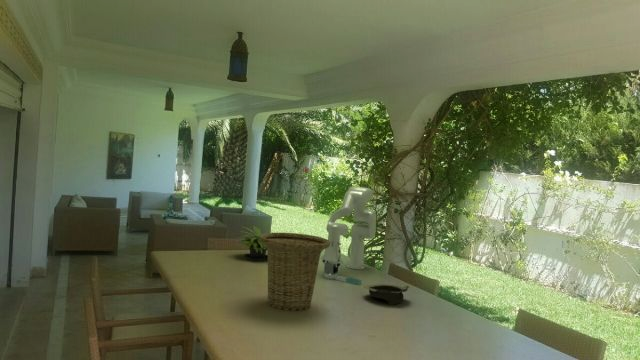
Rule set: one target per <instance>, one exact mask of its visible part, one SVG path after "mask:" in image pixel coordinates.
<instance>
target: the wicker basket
mask: <svg viewBox="0 0 640 360" xmlns="http://www.w3.org/2000/svg"><path fill="white" fill-rule="evenodd" d="M260 241H261V242H262V243H264V244H265V245H266V246H267V250H266V251H267V255H268V261H267V303H268V305H269V306H271V307H272V308H277V309H278V310H282V309H283V310H284V311H289V310H291V311H293V312H294V311H297V310H298V311H302V310H308V308H310V307H311V304H312V299H313V294H314V288H315V284H316V279H317V273H318V269H319V263H320V262H319V261H320V259H321V254H322V252H323V251H325V249H326V248H328V247H329V246H330V241H329V240H328V238H325V237H321V236H317V235H313V234H305V233H294V232H267V233H261V236H260Z"/></svg>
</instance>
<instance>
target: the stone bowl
mask: <svg viewBox="0 0 640 360" xmlns="http://www.w3.org/2000/svg"><path fill="white" fill-rule="evenodd" d="M409 288H410V286H408V285H406V286H402V285H397V284H395V285H394V284H384V283H383V284H381V283H377V284H367V285H365V286H363V289H366V290H368V292H369V295H370V296H371V297H374V298H376V299H381V300H385V301H386V304H388V305H391V306H392V305H397V304H399V303H402V302H403V301H404V294H403V293H406V292H407V291H408V289H409Z"/></svg>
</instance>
